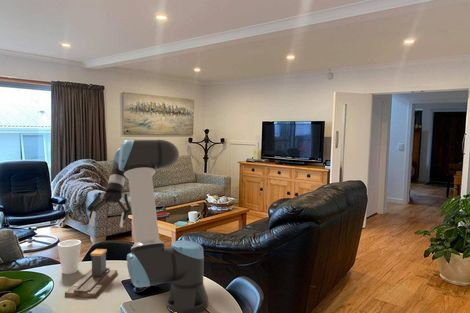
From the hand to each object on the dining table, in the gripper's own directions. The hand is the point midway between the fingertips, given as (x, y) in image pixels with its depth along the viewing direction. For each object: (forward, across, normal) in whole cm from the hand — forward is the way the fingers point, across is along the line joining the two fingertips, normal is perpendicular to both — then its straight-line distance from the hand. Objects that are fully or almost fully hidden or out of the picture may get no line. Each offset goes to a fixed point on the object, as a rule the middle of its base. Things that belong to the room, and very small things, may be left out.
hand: (105, 225), depth 158 cm
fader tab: (+21, -1, -3) cm, 21 cm away
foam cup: (+18, +14, -10) cm, 25 cm away
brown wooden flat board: (+26, -1, +1) cm, 26 cm away
